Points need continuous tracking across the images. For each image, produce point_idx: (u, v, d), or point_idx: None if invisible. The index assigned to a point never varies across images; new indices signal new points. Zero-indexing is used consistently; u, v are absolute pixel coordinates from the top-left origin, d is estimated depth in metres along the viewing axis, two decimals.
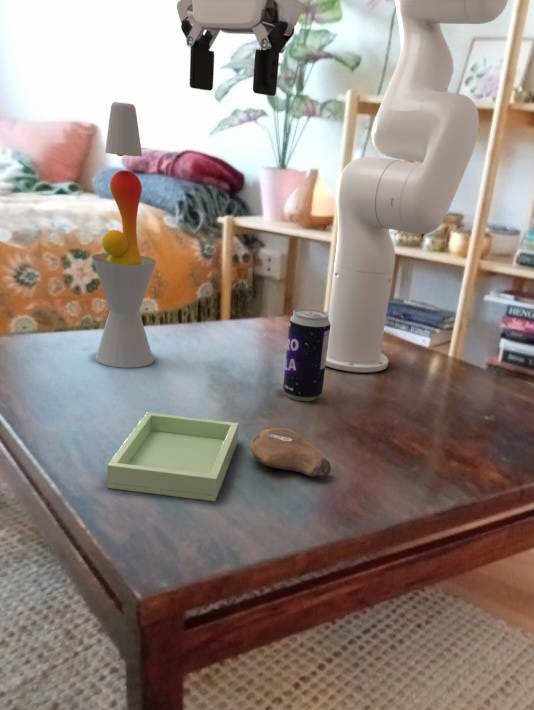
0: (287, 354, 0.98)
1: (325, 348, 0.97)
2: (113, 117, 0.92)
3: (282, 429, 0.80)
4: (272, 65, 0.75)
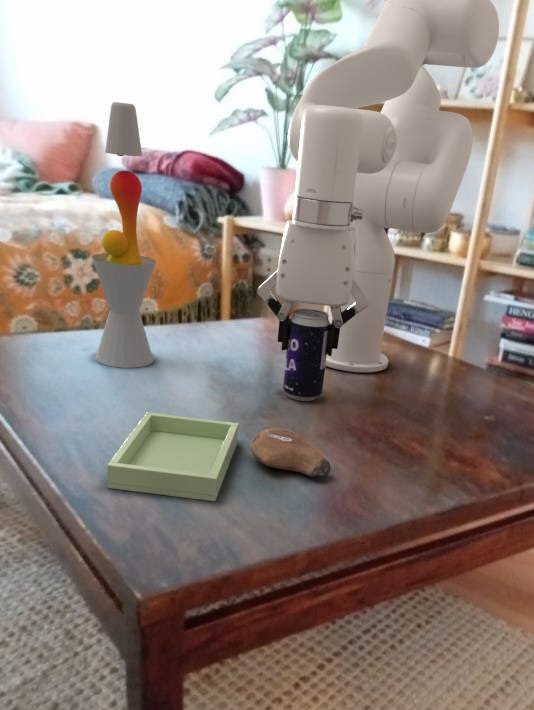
0: (287, 354, 0.98)
1: (325, 348, 0.97)
2: (113, 117, 0.92)
3: (282, 429, 0.80)
4: None
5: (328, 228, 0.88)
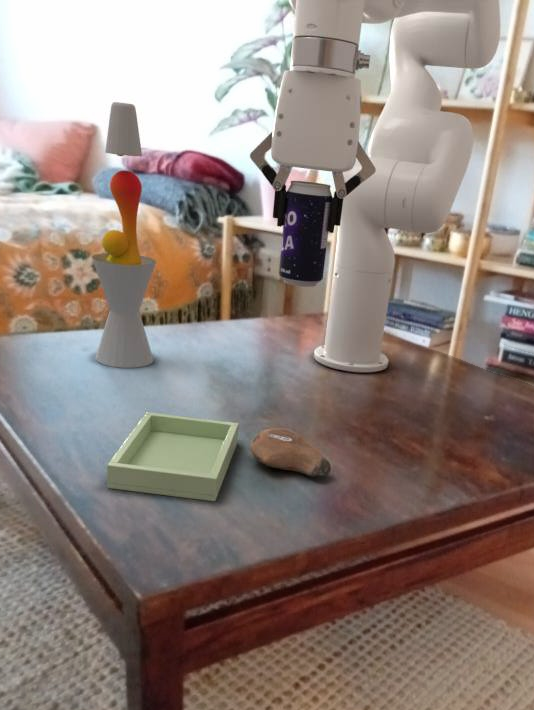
0: (284, 231, 0.87)
1: (326, 224, 0.86)
2: (113, 117, 0.92)
3: (282, 429, 0.80)
4: (341, 209, 0.86)
5: (331, 72, 0.77)
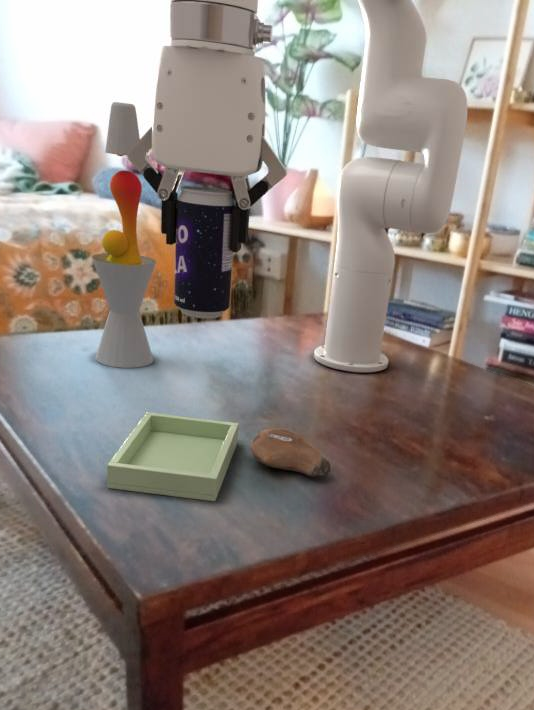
0: (176, 250, 0.69)
1: (228, 240, 0.69)
2: (113, 117, 0.92)
3: (282, 429, 0.80)
4: (247, 222, 0.69)
5: (217, 47, 0.59)
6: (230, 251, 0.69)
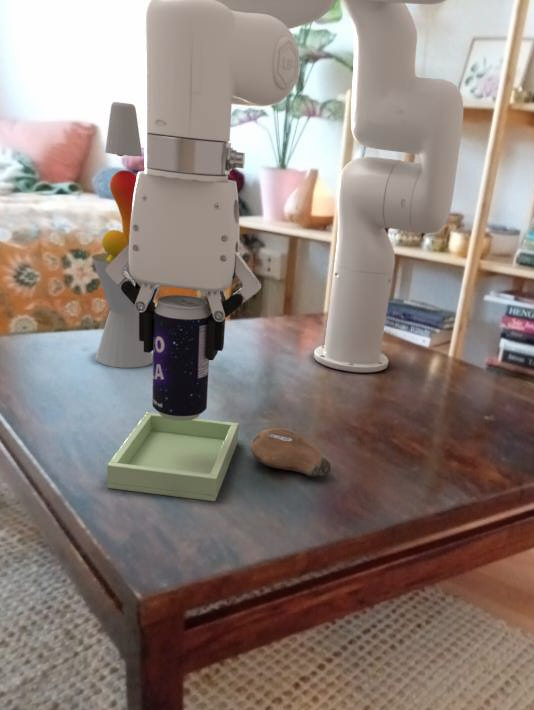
0: (153, 357, 0.71)
1: (204, 349, 0.70)
2: (113, 117, 0.92)
3: (282, 429, 0.80)
4: (222, 331, 0.71)
5: (190, 178, 0.61)
6: (206, 358, 0.71)
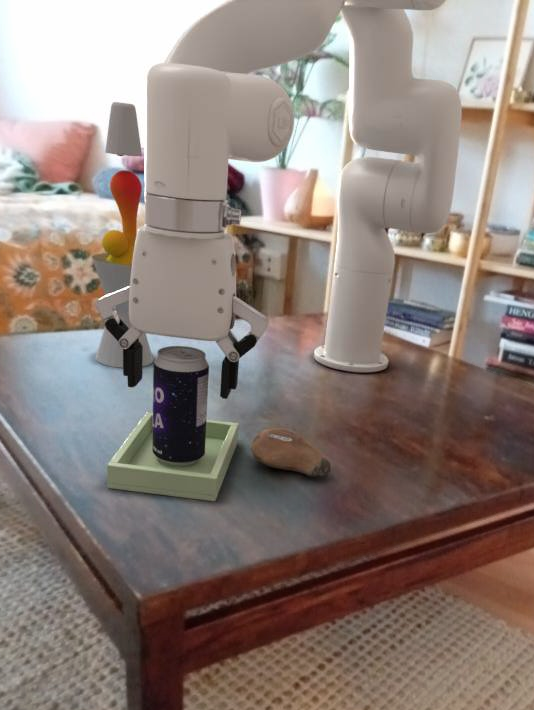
0: (153, 406, 0.74)
1: (202, 399, 0.73)
2: (113, 117, 0.92)
3: (282, 429, 0.80)
4: (236, 370, 0.72)
5: (188, 236, 0.63)
6: (204, 407, 0.74)
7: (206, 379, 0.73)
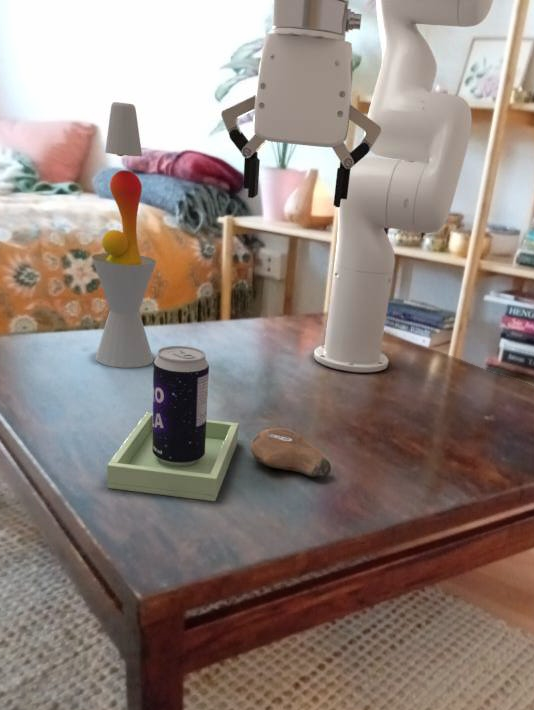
0: (153, 406, 0.74)
1: (202, 399, 0.73)
2: (113, 117, 0.92)
3: (282, 429, 0.80)
4: (348, 180, 0.78)
5: (317, 34, 0.69)
6: (204, 407, 0.74)
7: (206, 379, 0.73)
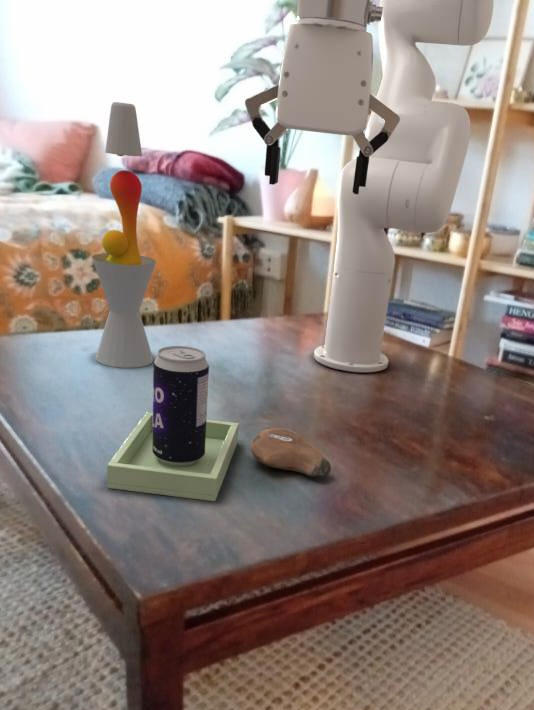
0: (153, 406, 0.74)
1: (202, 399, 0.73)
2: (113, 117, 0.92)
3: (282, 429, 0.80)
4: None
5: (340, 24, 0.72)
6: (204, 407, 0.74)
7: (206, 379, 0.73)
